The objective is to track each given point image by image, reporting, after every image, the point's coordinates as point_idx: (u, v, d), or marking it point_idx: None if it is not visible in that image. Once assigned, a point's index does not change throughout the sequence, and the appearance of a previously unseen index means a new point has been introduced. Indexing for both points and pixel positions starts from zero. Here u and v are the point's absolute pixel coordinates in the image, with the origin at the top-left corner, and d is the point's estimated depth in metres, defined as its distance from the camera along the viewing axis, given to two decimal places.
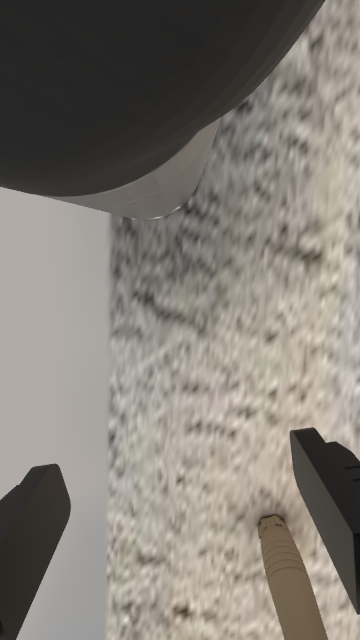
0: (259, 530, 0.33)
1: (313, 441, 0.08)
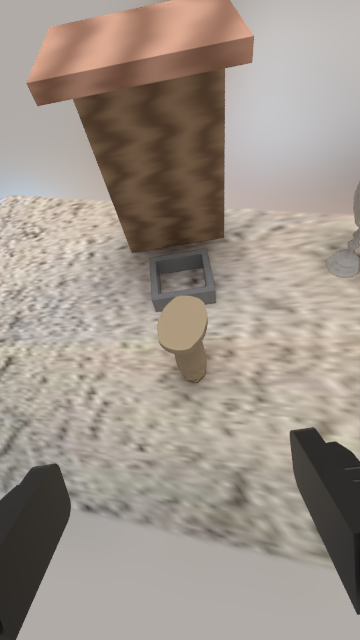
0: None
1: (313, 441, 0.08)
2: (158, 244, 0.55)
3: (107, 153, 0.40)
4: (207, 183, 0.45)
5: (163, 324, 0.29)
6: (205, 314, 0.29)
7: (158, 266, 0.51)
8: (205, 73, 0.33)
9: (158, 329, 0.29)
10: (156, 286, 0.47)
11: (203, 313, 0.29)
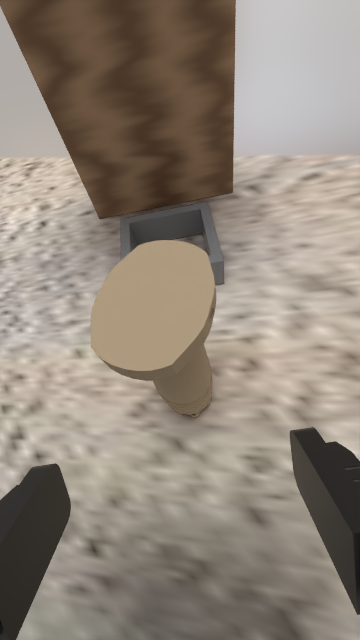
0: (190, 415, 0.23)
1: (313, 441, 0.08)
2: (137, 204, 0.38)
3: (29, 18, 0.23)
4: (206, 89, 0.28)
5: (107, 305, 0.12)
6: (210, 278, 0.12)
7: (135, 232, 0.33)
8: None
9: (93, 317, 0.12)
10: None
11: (205, 276, 0.12)
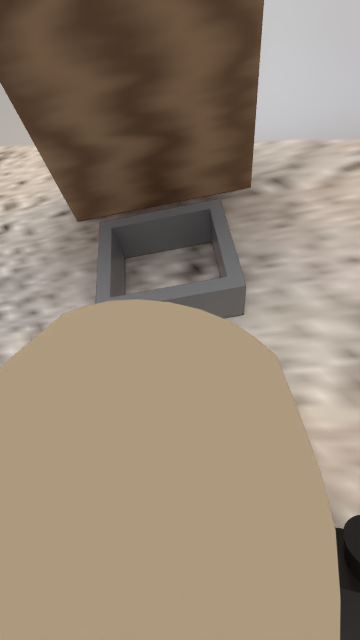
0: None
1: None
2: (125, 203, 0.29)
3: None
4: (221, 32, 0.19)
5: None
6: (309, 484, 0.03)
7: (120, 240, 0.24)
8: None
9: None
10: (108, 280, 0.20)
11: (286, 470, 0.03)
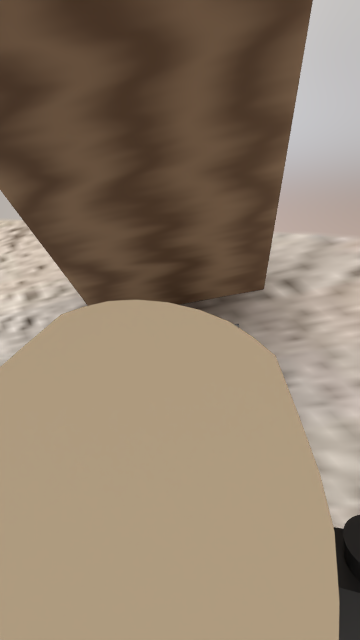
0: None
1: None
2: None
3: None
4: (242, 195, 0.20)
5: None
6: (308, 485, 0.03)
7: None
8: None
9: None
10: None
11: (285, 471, 0.03)
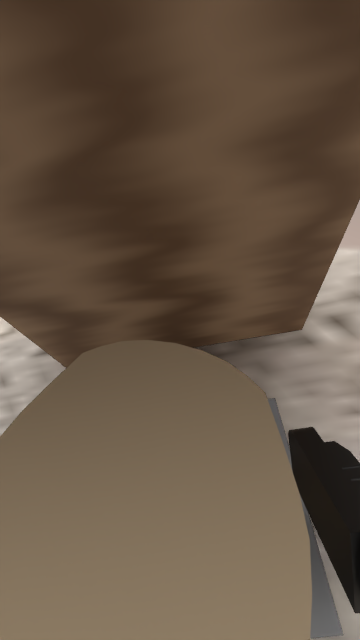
0: None
1: (311, 441, 0.08)
2: None
3: None
4: (298, 195, 0.11)
5: None
6: (289, 502, 0.04)
7: None
8: None
9: None
10: None
11: (272, 490, 0.04)
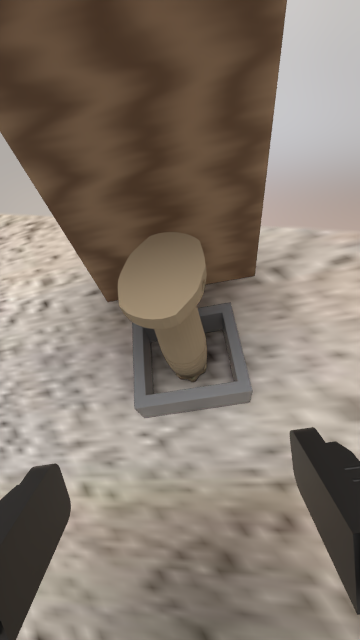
0: None
1: (313, 441, 0.08)
2: None
3: (31, 135, 0.19)
4: (233, 191, 0.24)
5: (128, 278, 0.17)
6: (202, 258, 0.17)
7: (148, 332, 0.30)
8: None
9: (119, 286, 0.16)
10: (143, 378, 0.26)
11: (198, 257, 0.17)
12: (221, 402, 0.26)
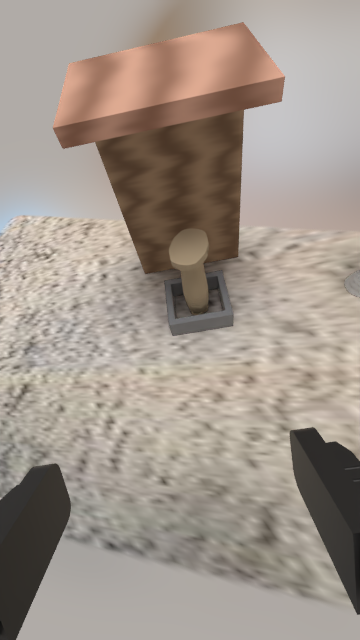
0: (198, 314, 0.48)
1: (313, 441, 0.08)
2: None
3: (123, 181, 0.39)
4: (223, 206, 0.45)
5: (173, 249, 0.37)
6: (206, 240, 0.37)
7: (173, 288, 0.50)
8: None
9: (170, 252, 0.37)
10: (172, 310, 0.46)
11: (205, 239, 0.37)
12: (216, 324, 0.46)
